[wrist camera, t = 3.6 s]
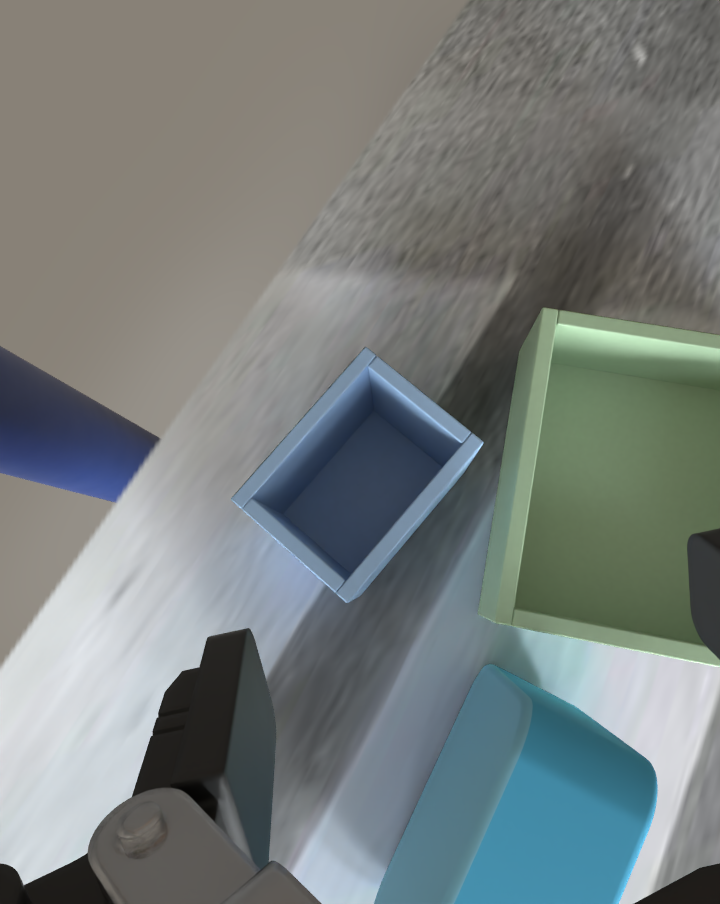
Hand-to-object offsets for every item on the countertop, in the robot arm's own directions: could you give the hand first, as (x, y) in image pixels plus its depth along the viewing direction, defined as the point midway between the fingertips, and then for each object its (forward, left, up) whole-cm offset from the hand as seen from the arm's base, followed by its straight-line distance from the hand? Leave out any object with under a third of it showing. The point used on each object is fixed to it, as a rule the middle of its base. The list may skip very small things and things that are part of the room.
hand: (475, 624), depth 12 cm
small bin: (-4, +4, -21) cm, 22 cm away
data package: (+4, -9, -21) cm, 23 cm away
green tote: (+9, +6, -21) cm, 24 cm away
